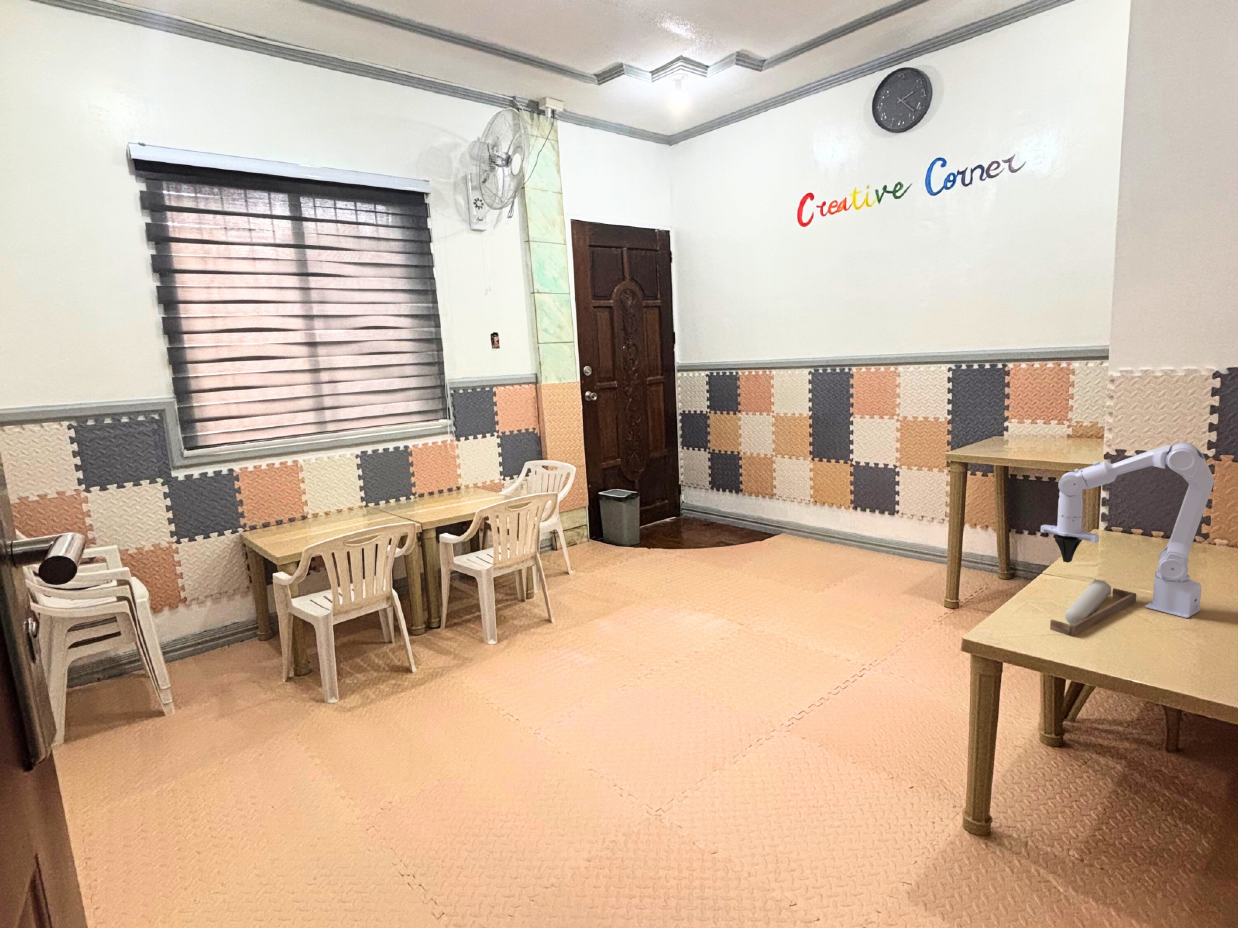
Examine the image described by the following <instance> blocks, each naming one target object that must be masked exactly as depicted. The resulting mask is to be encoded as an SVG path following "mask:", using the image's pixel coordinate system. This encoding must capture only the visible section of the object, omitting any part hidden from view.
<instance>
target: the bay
mask: <svg viewBox="0 0 1238 928" xmlns="http://www.w3.org/2000/svg"><path fill="white" fill-rule="evenodd" d="M1111 594H1112V595H1111V597H1112V598H1115V599H1118V600H1117V601H1114V602H1113V603H1110V604H1109V605H1107V606H1105V607H1103V608H1101V609H1099V610H1098V611H1094V613H1093V614H1092V615H1090V616H1088V617H1086V618H1084V619H1082V620H1080V621H1078V622H1076V623H1074V624H1070V623H1065V622H1062V621H1059V620H1057V619H1050V624H1049V625H1050V626H1049V627H1050V628H1049V629H1050V630H1051V631H1055V632H1057V633H1060V634H1063V633H1064V634H1065V635H1067V636H1070V637H1074V636H1076V635H1078V634H1080V633H1081V632H1083V631H1085V630H1087V629H1089V628H1091V627H1093V626H1095V625H1096V624H1098V623H1100V622H1102V621H1104V620H1106V619H1107V618H1110V617H1111V616H1113V615H1114V614H1117V613H1119V612H1120V611H1122V610H1124V609H1126V608H1127V607H1130V606H1131V605H1133V604H1135V603H1136V602H1137V593H1135V592H1132V591H1127V590H1123V589H1119V588H1116V587H1114V588H1112V593H1111ZM1077 633H1078V634H1077Z"/></svg>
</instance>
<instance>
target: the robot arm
mask: <svg viewBox="0 0 1238 928" xmlns="http://www.w3.org/2000/svg"><path fill="white" fill-rule="evenodd" d="M1092 463H1093V465H1089V466H1087V467H1084V468H1081V469H1079V468H1076V469H1074V471H1068V472H1066V473H1064V474H1063V475H1062V476H1061V477H1060V479H1059V481H1058V486H1057V487H1058V490H1059V493H1058V496H1059V498H1058V503H1057V504H1058V506H1057V507H1058V508H1057V523H1056V524H1057V525H1051V524H1042V525H1040V533H1044V534H1045V533H1047V534H1052V535H1056V537H1054V542H1055V543H1056V545H1057V546H1058V548H1059V550H1060V554H1061V556H1062V557H1061V558H1062V561H1063V562H1064V563H1071V562H1073V557H1074V555H1075V552H1076V551H1077V549H1078V547H1079V545H1080V544H1082V543H1081V542H1083V541H1086V542H1090V543H1092V544H1097V543H1099V541H1100V539H1099V538H1100V535H1099V534H1096V533H1092V532H1089V531H1086V530H1082V521H1083V504H1084V503H1083V501H1084V499H1083V490H1090V489H1093V488H1097V487H1100V486H1104V485H1107V484H1110V483H1113V482H1115V480H1116V478H1117V477H1118V476H1121V475H1123V474H1127V473H1130V472H1133V471H1137V470H1142V469H1145V468H1149V467H1157V468H1159V469H1166V465H1167V466H1168V468H1169V469H1170V470H1172V471H1173V472H1175V473H1177V474H1178V475H1180V476H1181V477H1182V478H1183V479H1184V481H1186V483H1188V486H1187V489H1186V493H1185V495H1184V498H1183V501H1182V504H1181V507H1180V509H1179V512H1178V516H1177V518H1176V521H1175V524H1174V526H1173V529H1172V532H1171V535H1170V538H1169V540H1168V542H1167V544H1166V546H1165V548H1164V549H1162V550H1161V551H1160V553H1158V554H1159V555H1158V562H1157V566H1156V571H1155V572H1154V580H1153V581H1154V582H1153V593H1152V601H1151V602H1149V603H1148V604H1145V608H1147V609H1151V610H1155V611H1159V612H1162V613H1166V614H1169V615H1174V616H1178V617H1182V618H1185V619H1187V618H1188V619H1189V618H1190V617H1191V616H1194V615H1195V614H1197V613H1199V612H1200V611H1201V608H1200V607H1201V597H1202V585H1201V583H1200V582H1198V581H1195V580H1193V579H1191V577H1190V575H1189V565H1188V564H1189V561H1190V560H1189V557H1190V553H1191V549H1192V545H1193V542H1194V540H1195V537H1196V533H1197V530H1198V529H1199V525H1200V523H1201V520H1202V517H1203V514H1204V512H1205V509H1206V506H1207V504H1208V501H1209V497H1210V495H1211V493H1212V489H1213V487H1214V483H1215V481H1214V480H1215V479H1214V476H1213V474H1212V471H1211V469H1210V467H1209V465H1208V463H1207V460H1206V458H1205V456H1204V453H1203V452H1202V451H1201V450H1199V449H1198V448H1197V447H1196V446H1195V445H1194V444H1192V443H1190V442H1187V441H1179V442H1175V443H1174V444H1172V445H1170V444H1167V445H1162V446H1160V447H1156V448H1153V449H1151V450H1147V451H1144V452H1141V453H1139V454H1137V455H1134V456H1131V457H1128V458H1125V459H1123V460H1120V461H1117V462H1114V463H1111V462H1110V463H1109V462H1107V461H1102V462H1100V461H1099V460H1098V461H1095V462H1092Z"/></svg>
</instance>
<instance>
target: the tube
mask: <svg viewBox="0 0 1238 928" xmlns="http://www.w3.org/2000/svg"><path fill="white" fill-rule="evenodd" d="M1111 594H1112V585H1110V584H1109V583H1108V582H1106V581H1105V580H1100V579H1094V580H1093V581H1091V582H1090V583H1089V586H1088V587H1087V588H1086V589H1085V590H1084V591H1083V592H1082V593H1081V595H1079V597H1077V598H1076V600H1074V602H1073V603H1072V604H1071V605H1070V606H1069V607H1068V609H1067V610H1065V613H1064V620H1066V621H1067V623H1068V624H1069V625H1073V624H1074V623H1076V622H1078V621H1080V620H1082V619H1084V618H1086V617H1088V616H1090V615H1092V614H1093V613H1095V612H1096V610H1097V609H1098V608H1099V606H1100V605H1101V604H1102V603H1103V602H1104V601H1105V600H1106V599H1107V597H1108V596H1110V595H1111Z"/></svg>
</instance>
